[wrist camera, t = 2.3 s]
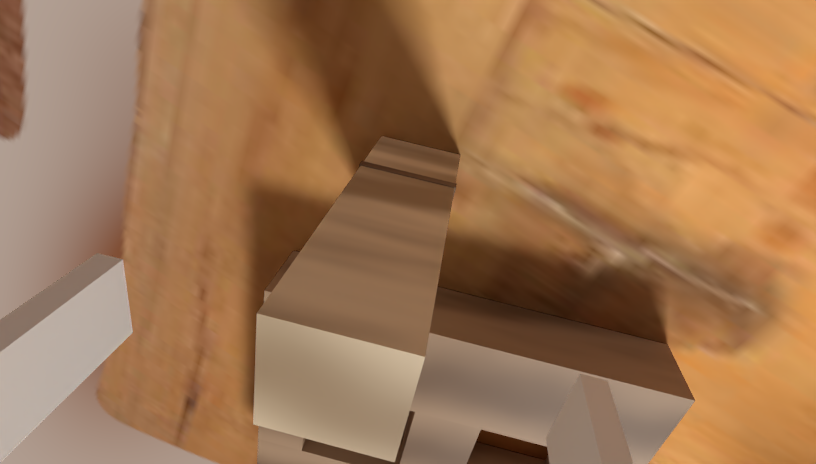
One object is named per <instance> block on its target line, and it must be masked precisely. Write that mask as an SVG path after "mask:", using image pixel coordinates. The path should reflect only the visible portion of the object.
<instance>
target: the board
mask: <svg viewBox="0 0 816 464" xmlns="http://www.w3.org/2000/svg"><path fill="white" fill-rule="evenodd" d="M299 253H300V252H297V251H293V252H292V253H291V255H290V256H289V257H288V259H287V260H286V261H285V263H284V264H283V266H282V267H281V268H280V270H279V271H278V272H277V274H276V275H275V277H274V278H273V279H272V281H271V282H270V283H269V285H268V286H267V287H266V289H265V290H264V302H265V301H266V299H267V298H268V297H269V295H270V294H271V292H272V291H273V289H274V288H275V287H276V285H277V284H278V282H279V281H280V280H281V278H282V277H283V275H284V274H285V272H286V271H287V270H288V268H289V267H290V265H291V264H292V262H293V261H294V260H295V258H296V257H297V255H298V254H299ZM579 374H582V375H586V376H590V377H594V378H598V379H602V380H606V381H608V384H609V387H610V390H611V394H612V397H613V400H614V403H615V406H616V409H617V413H618V416H619V419H620V422H621V425H622V429H623V432H624V435H625V438H626V441H627V445H628V448H629V451H630V454H631V457H632V460H633V464H648V463H649V462H650V460H651V459H652V458H653V456H654V455H655V454H656V452H657V451H658V450H659V448H660V447H661V446H662V444H663V443H664V442H665V440H666V439H667V438H668V436H669V435H670V434H671V432H672V431H673V430H674V428H675V427H676V426H677V424H678V423H679V422H680V420H681V419H682V418H683V416H684V415H685V414H686V412H687V411H688V410H689V408H690V407H691V406H692V404H693V403H694V402H695V399H694V397H693V395H692V393H691V391H690V389H689V387H688V385H687V383H686V381H685V379H684V377H683V375H682V373H681V371H680V369H679V367H678V365H677V363H676V361H675V359H674V356H673V354H672V352H671V350H670V348H669V346H668V345H667V344H663V343H659V342H655V341H651V340H647V339H643V338H640V337H636V336H632V335H628V334H624V333H620V332H616V331H612V330H608V329H604V328H600V327H596V326H592V325H588V324H584V323H580V322H576V321H572V320H568V319H564V318H560V317H556V316H552V315H548V314H544V313H540V312H536V311H532V310H528V309H524V308H520V307H516V306H512V305H508V304H504V303H500V302H496V301H492V300H488V299H484V298H480V297H476V296H472V295H468V294H464V293H460V292H456V291H452V290H448V289H445V288H441V287H437V292H436V298H435V304H434V309H433V315H432V321H431V327H430V332H429V338H428V344H427V350H426V355H425V360H424V363H423V366H422V370H421V373H420V377H419V380H418V384H417V387H416V391H415V394H414V398H413V401H412V404H411V408H410V412H409V415H408V418H407V422H406V425H405V429H404V432H403V436H402V439H401V443H400V446H399V449H398V453H397V456H396V460H395V462H391V461H387V460H383V459H380V458H376V457H372V456H369V455H365V454H361V453H358V452H354V451H350V450H346V449H343V448H339V447H335V446H332V445H328V444H324V443H320V442H317V441H313V440H309V439H306V438H302V437H298V436H294V435H291V434H287V433H283V432H280V431H276V430H272V429H269V428H265V427H261V426H259V431H258V456H257V464H549V457H548V456H547V458H546V460H543V459H539V458H535V457H531V456H527V455H524V454H520V453H516V452H512V451H509V450H505V449H501V448H497V447H493V446H490V445H486V444H482V443H478V442H476V440H477V438H478V435H479V433H480V431H481V430H485V431H489V432H493V433H497V434H500V435H504V436H508V437H512V438H516V439H519V440H523V441H527V442H531V443H535V444H538V445H542V446H546V447H547V442H546V437H547V435H548V433H549V431H550V429H551V427H552V426H553V424H554V422H555V420H556V418H557V416H558V414H559V412H560V410H561V409H562V407H563V405H564V403H565V401H566V399H567V397H568V395H569V393H570V391H571V390H572V388H573V386H574V384H575V382H576V380H577V378H578V376H579Z"/></svg>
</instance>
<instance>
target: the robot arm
mask: <svg viewBox="0 0 816 464" xmlns="http://www.w3.org/2000/svg"><path fill="white" fill-rule="evenodd" d="M132 333H133V330H132V323H131V316H130V308H129V301H128V294H127V286H126V279H125V272H124V264H123V259H118V258H115V257H111V256H107V255H102V254H99V253H97V254H95V255H94V256H92V257H91V258H89V259H88V260H87V261H85V262H84V263H82V264H81V265H79V266H78V267H77V268H75V269H73V270H72V271H71V272H69V273H68V274H66V275H65V276H63V277H62V278H60V279H59V280H57V281H56V282H55V283H53V284H52V285H50V286H49V287H47V288H46V289H44V290H43V291H41V292H40V293H39V294H37V295H36V296H34V297H33V298H31V299H30V300H28V301H27V302H25V303H24V304H23V305H21V306H20V307H18V308H17V309H15V310H14V311H12V312H11V313H10V314H8V315H7V316H5V317H4V318H2V319H1V320H0V463H1V461H3V459H5V457H7V456H8V455H9V453H11V452H12V451H13V450H14V449H15V448H16V447H17V446H18V445H19V443H21V442H22V441H23V440H24V439H25V438H26V437H27V436H28V435H29V434H30V433H31V432H32V431H33V430H34V429H35V428H36V427H37V426H38V425H39V424H40V423H41V422H42V421H43V420H44V419H45V418H46V417H47V416H48V415H49V414H50V413H51V412H52V411H53V410H54V409H55V408H56V407H57V406H58V405H59V404H60V403H61V402H63V400H65V399H66V397H68V396H69V395H70V394H71V393H72V392H73V391H74V390H75V389H76V388H77V387H78V386H79V385H80V384H81V383H82V382H83V381H84V380H85V379H86V378H87V377H88V376H89V375H90V374H91V373H92V372H93V371H94V370H95V369H96V368H97V367H98V366H99V365H100V364H101V363H102V362H103V361H104V360H105V359H106V358H107V357H108V356H109V355H110V354H111V353H112V352H113V351H114V350H115V349H116V348H117V347H118V346H119V345H120V344H122V343H123V342H124V341H125V340H126V339H127V338H128V337H129V336H130V335H131V334H132ZM546 442H547V450H548V457H549V464H633V460H632V457H631V454H630V451H629V448H628V445H627V441H626V438H625V435H624V432H623V429H622V425H621V422H620V419H619V416H618V413H617V409H616V406H615V403H614V400H613V397H612V394H611V390H610V387H609V384H608V381H606V380H602V379H598V378H594V377H590V376H586V375H582V374H579V376H578V378H577V380H576V382H575V384H574V386H573V388H572V390H571V391H570V393H569V395H568V397H567V399H566V401H565V403H564V405H563V407H562V409H561V410H560V412H559V414H558V416H557V418H556V420H555V422H554V424H553V426H552V427H551V429H550V431H549V433H548V435H547V437H546Z"/></svg>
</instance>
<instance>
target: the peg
mask: <svg viewBox="0 0 816 464" xmlns="http://www.w3.org/2000/svg"><path fill="white" fill-rule="evenodd" d="M459 159H460V155H459V154H455V153H451V152H447V151H443V150H438V149H434V148H430V147H426V146H422V145H417V144H413V143H409V142H405V141H401V140H396V139H392V138H388V137H384V136H381V137H380V139H379V140H378V142H377V143H376V144H375V146H374V147H373V149H372V150H371V152H370V153H369V154H368V156H367V157H366V159H365V160H364V161H362V162H361V163H360V166H359V169H358V170H357V171H356V173H355V174H354V176H353V177H352V179H351V180H350V181H349V183H348V184H347V186H346V187H345V189H344V190H343V191H342V193H341V194H340V196H339V197H338V199H337V200H336V201H335V203H334V204H333V206H332V207H331V208H330V210H329V211H328V213H327V214H326V216H325V217H324V218H323V220H322V221H321V223H320V224H319V226H318V227H317V228H316V230H315V231H314V233H313V234H312V235H311V237H310V238H309V240H308V241H307V243H306V244H305V245H304V247H303V248H302V250H301V251H300V253H299V254H298V255H297V257H296V258H295V260H294V261H293V262H292V264H291V265H290V267H289V268H288V270H287V271H286V272H285V274H284V275H283V277H282V278H281V280H280V281H279V282H278V284H277V285H276V287H275V288H274V289H273V291H272V292H271V294H270V295H269V297H268V298H267V299H266V301H265V302H264V304H263V305H262V307H261V308H260V309H259V311H258V312H257V320H256V351H255V383H254V415H253V424H254V425H257V426H261V427H265V428H269V429H272V430H276V431H280V432H283V433H287V434H291V435H294V436H298V437H302V438H306V439H309V440H313V441H317V442H320V443H324V444H328V445H332V446H335V447H339V448H343V449H346V450H350V451H354V452H358V453H361V454H365V455H369V456H372V457H376V458H380V459H383V460H387V461H391V462H395V460H396V456H397V453H398V449H399V446H400V443H401V439H402V436H403V432H404V429H405V425H406V422H407V418H408V415H409V411H410V408H411V404H412V401H413V398H414V394H415V391H416V387H417V384H418V380H419V377H420V373H421V370H422V366H423V363H424V360H425V355H426V350H427V344H428V338H429V332H430V327H431V321H432V315H433V309H434V304H435V298H436V292H437V286H438V280H439V275H440V269H441V263H442V257H443V252H444V246H445V240H446V234H447V229H448V223H449V217H450V211H451V206H452V200H453V197H454V193H455V189H456V177H457V171H458V165H459Z"/></svg>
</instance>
